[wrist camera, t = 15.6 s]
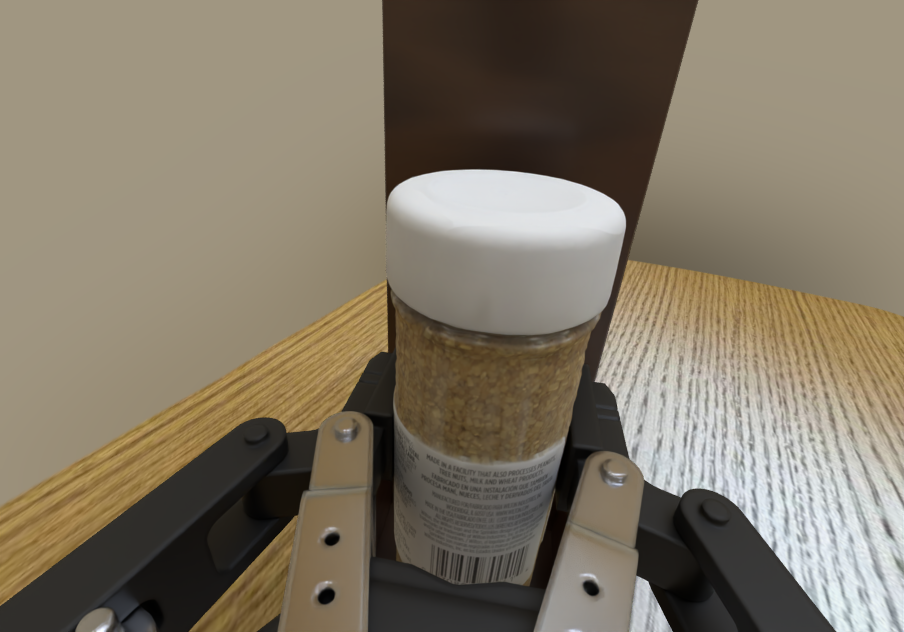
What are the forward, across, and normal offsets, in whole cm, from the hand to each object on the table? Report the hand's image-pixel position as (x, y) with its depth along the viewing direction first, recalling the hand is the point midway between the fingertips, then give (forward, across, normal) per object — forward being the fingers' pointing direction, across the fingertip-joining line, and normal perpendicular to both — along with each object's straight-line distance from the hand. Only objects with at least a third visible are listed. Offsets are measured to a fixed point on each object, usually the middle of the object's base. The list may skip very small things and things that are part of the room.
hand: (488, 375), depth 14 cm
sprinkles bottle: (-3, 0, +7) cm, 8 cm away
